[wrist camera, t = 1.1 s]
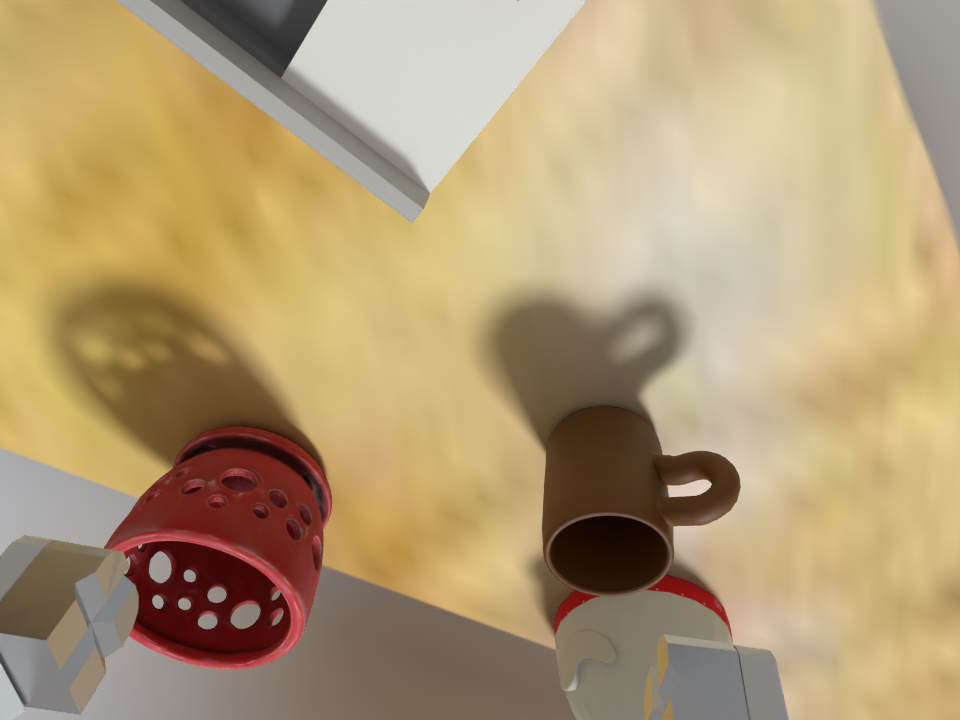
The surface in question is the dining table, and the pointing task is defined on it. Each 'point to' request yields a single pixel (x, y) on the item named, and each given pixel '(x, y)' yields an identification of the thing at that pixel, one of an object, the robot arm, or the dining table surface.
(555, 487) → the mug
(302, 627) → the plant pot
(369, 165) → the white board with recesses
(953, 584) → the dining table surface
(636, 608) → the kitchen timer
